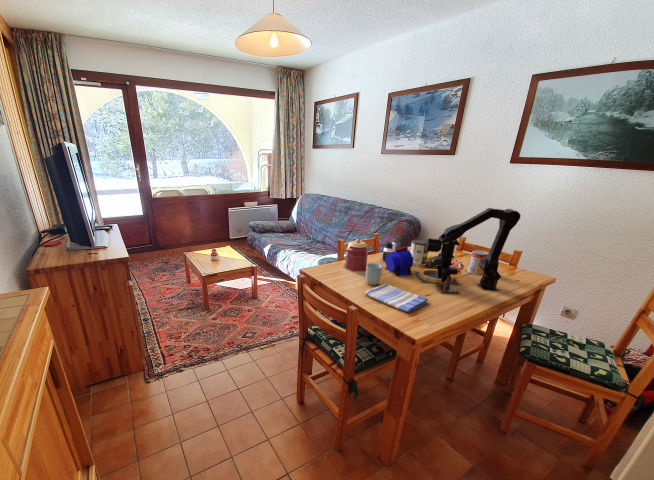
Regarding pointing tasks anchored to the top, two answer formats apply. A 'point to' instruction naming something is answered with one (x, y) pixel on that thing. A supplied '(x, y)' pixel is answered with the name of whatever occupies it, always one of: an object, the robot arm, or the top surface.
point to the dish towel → (397, 297)
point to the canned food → (476, 261)
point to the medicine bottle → (388, 250)
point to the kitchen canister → (356, 255)
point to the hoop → (430, 279)
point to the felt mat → (432, 277)
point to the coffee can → (419, 252)
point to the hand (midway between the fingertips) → (440, 280)
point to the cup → (373, 273)
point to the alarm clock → (400, 261)
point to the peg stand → (447, 287)
